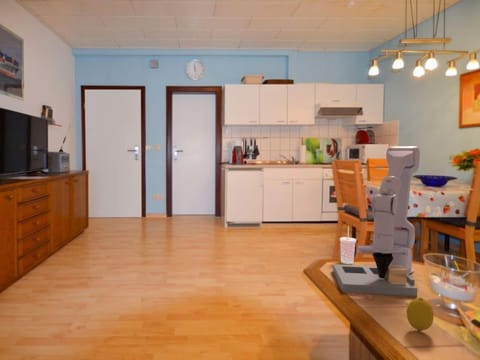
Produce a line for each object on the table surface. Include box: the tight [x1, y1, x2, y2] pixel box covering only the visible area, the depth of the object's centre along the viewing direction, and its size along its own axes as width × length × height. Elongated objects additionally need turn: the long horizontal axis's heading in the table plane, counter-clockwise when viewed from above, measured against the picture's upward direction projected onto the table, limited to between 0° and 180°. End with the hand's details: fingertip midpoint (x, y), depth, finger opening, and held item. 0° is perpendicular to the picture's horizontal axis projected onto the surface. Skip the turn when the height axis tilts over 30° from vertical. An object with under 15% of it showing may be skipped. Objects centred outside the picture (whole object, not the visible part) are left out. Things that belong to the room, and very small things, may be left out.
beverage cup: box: [339, 225, 357, 265], centre depth 138 cm, size 6×6×14 cm
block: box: [385, 265, 407, 283], centre depth 111 cm, size 5×5×4 cm
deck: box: [332, 263, 418, 297], centre depth 116 cm, size 20×21×4 cm
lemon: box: [406, 296, 434, 333], centre depth 84 cm, size 6×6×8 cm
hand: (381, 277), depth 112 cm, fingers closed
